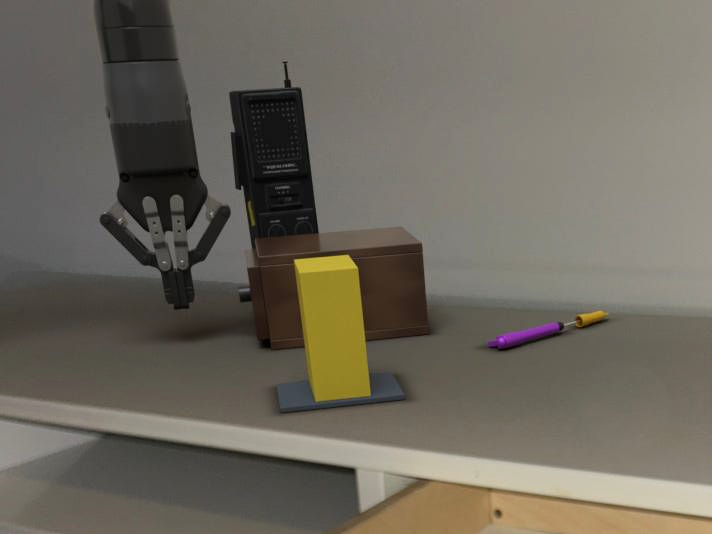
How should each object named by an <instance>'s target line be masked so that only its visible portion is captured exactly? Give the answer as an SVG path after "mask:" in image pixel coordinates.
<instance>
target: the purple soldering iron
mask: <svg viewBox="0 0 712 534" xmlns="http://www.w3.org/2000/svg"><path fill="white" fill-rule="evenodd" d="M606 316H610V311H608V312H604V311H602V310H598V311H593V312H589V313H582V314H578V315H576V316H575V317H574V321H571V322H567V323H563V322H561V321H557V322H551V323H548V324H544V325H540V326H536V327H533V328H529V329H524V330H522V331H513V332H508V333H504V334H501V335H497V336H496V337H495V339H494V340H490V341H487V346H488V348H492V347H496V346H497V349H498V350H504V349H507V348H510V347H514V346H519V345H521V343H525V342H529V341H532V340H536V339H540V338H543V337H547V336H551V335H555V334H558V333H560V332H562V331H564V329H565V327H568V326H572V325H575V326H576V327H577V328H583V327H586V326H589V325H590V324H594V323H598V322H600V321H603V320H604V319H605V317H606Z"/></svg>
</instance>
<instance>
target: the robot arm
mask: <svg viewBox="0 0 712 534" xmlns="http://www.w3.org/2000/svg"><path fill="white" fill-rule="evenodd" d="M171 4H172V3H171V0H92V2H91V12H92V22H93V27H94V30H95V31H94V32H95V37H96V43H97V48H98V54H99V58H100V63H101V66H100V67H101V71H102V72H101V74H102V91H103V97H104V103H105V106H104V108H105V109H104V111H105V115H106V118H107V119H108V125H109V130H110V137H111V143H112V148H113V152H114V159H115V163H116V169H117V174H118V187H117V190H116V199H117V200H116V202H114V203H113V205H112V206H110V208H108V210H106V211H104V212H102V213H101V215H100V216H99V223H100V225H101V226H102V227H103V228H104V230H106V231H107V232H108V233H109V234H111V236H112V237H113V238H114V239H115V240H116V241H117V242H118V243H119V244H120V245H121V246H122V247H123V248H124V249H125V250H126V251H127V252H128V253H129V254H130V255H131V256H132V257H133V258H134V259H135V260H136V261H137V262H139V264H140V265H142V266H143V267H147V266H148V267H151V268H155V269H157V270H158V271H159V272H160V275H161V281H162V288H163V292H164V299H165V301H166V302H167V304H168V305H173V309H174V310H175V311H177V310H188V309H190V306H191V305H190V303H194V301H195V296H196V295H195V294H196V293H195V289H194V281H193V276H192V268H193V267H194V266H195V265H197V264H199V263H202V262H205V260H206V259H207V258H208V256H209V253H210V252H211V251H212V248H213V247H214V245H215V243H216V241H217V240H218V238H219V237H220V235H221V232H222V231H223V229H224V228H225V226H226V224H227V223H228V221H229V219H230V217H231V215H232V209H231V207H230V206H229V204H227V203H222V202H221V201H219V200H217V199H216V198H215V197H213V196H212V195H210V194H209V189H208V187H207V184H206V183H205V182H204V180H203V178H202V176H201V172H200V166H199V160H198V159H199V158H198V152H197V145H196V139H195V132H194V126H193V125H194V124H193V120H192V113H191V111H192V108H191V104H190V100H189V99H190V98H189V93H188V87H187V83H186V80H185V75H184V73H183V69H182V64H181V61H180V52H179V45H178V39H177V33H176V32H177V31H176V25H175V20H174V15H173V11H172V5H171ZM204 205H205V207H206V211H205V219H206V220H207V221H208V222H209V223H208V225H207V227H206V229H205V230H204V232H203V234H202V236H201V237H200V239H199V240H198V242H197V244H196V246H195V247H193V248H192V249H189V235H188V231H189V230H191V228H192V227H193V226H194V224H195V222H196V220H197V218H198V217H199V215H200V212H201V210H202V209H203V207H204ZM125 212H127V213H128V214H129V216H130V217H131V218H132V219H133V220H134V221H135V222H136V223H137V224H138V225H139V226H140V227H141V228H142V230H144V231H145V232H147V233H149V234H150V239H151V243H152V246H153V248H154V251H152V250H151V249H149V248H148V247H147V246H146V245H145V244H144V243H143V242H142V241H141V240H140V239H139V238H138V237H137V236H136V235H135V234H134V233H133V232H132V231H131V230H130V229H129V228H128V227H127V226H128V224H129V219H128V217H127V216H126V214H125ZM167 232H171V233H172V236H173V246H174V255H175V266H176V268H175V267H174V262H173V258H172V254H171V251H170V246H169V240H168V236H167Z"/></svg>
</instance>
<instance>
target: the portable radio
mask: <svg viewBox="0 0 712 534" xmlns="http://www.w3.org/2000/svg"><path fill="white" fill-rule="evenodd" d="M281 63H282V64H283V69H284V78H285V79H284V80H283V85H284V87H275V88H258V89H257V88H256V89H243V90H231V91H229V92H228V95H229V105H230V112H231V119H232V124H233V129H234V131H230V144H231V154H232V166H233V175H234V176H233V177H234V185H235V186H234V188H235V189H236V190H238V191H243V196H244V204H245V211H246V218H247V225H248V231H249V238H250V244H251V245H250V246H251V249H256V244H255V239H256V238H268V237H280V236H292V235H304V234H316V233H320V231H319V223H318V222H319V221H318V215H317V207H316V200H315V199H316V198H315V190H314V184H313V175H312V167H311V158H310V149H309V142H308V132H307V131H308V130H307V124H306V123H307V122H306V116H305V108H304V107H305V106H304V99H303V91H302V87H300V86H292V80H291V79H290V78H289V70H288V63H289V61H281Z"/></svg>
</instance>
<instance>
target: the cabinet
mask: <svg viewBox="0 0 712 534" xmlns="http://www.w3.org/2000/svg"><path fill="white" fill-rule="evenodd" d="M255 244H256V250H257V256H258V261H259V266H260V273H261V280H262V287H263V294H264V301H265V308H266V315H267V322H268V329H269V336H270V339H269V343H270V348H271V350H272V351H274V350H285V349H294V348H303V347H304V348H305V343H304V336H303V328H302V320H301V312H300V304H299V297H298V289H297V281H296V273H295V266H294V260H295V259H306V258H318V257H330V256H341V255H349V256H350V258H351V259H352V261H353V262H354V263H355V265H356V266H357V267H358V273H359V283H360V292H361V302H362V312H363V322H364V332H365V341H374V340H384V339H385V340H386V339H395V338H405V337H415V336H424V335H430V330H429V318H428V303H427V292H426V291H427V290H426V277H425V263H424V252H423V251H424V250H423V242H421V241H420V240H419V239H418V238H417V237H415V236H414V235H413V234H411V233H410V232H409V231H408V230H407V229H405V228H404V227H403V226H390V227H379V228H365V229H353V230H344V231H341V230H340V231H330V232H319V233H316V234H304V235H292V236H280V237H268V238H256V239H255Z"/></svg>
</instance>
